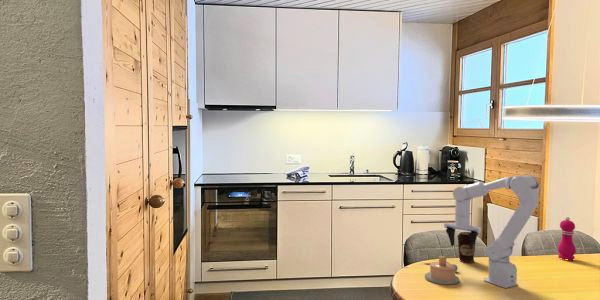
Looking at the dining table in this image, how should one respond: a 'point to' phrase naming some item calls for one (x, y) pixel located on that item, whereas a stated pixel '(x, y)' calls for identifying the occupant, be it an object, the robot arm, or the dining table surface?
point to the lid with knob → (442, 270)
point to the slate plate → (452, 282)
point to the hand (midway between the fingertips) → (461, 247)
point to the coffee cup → (465, 247)
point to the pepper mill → (567, 240)
